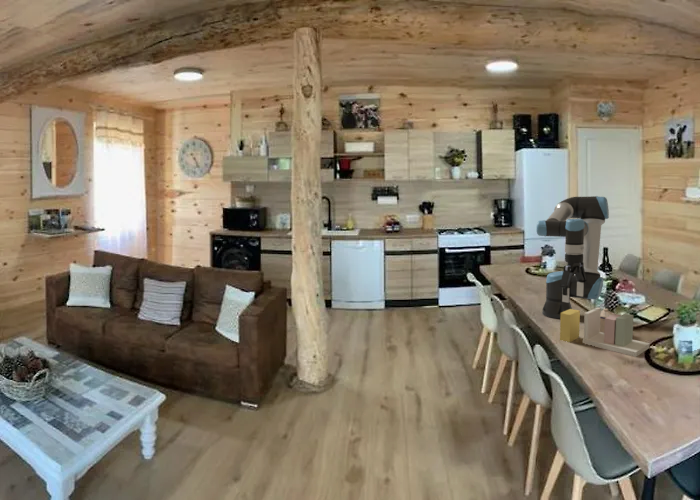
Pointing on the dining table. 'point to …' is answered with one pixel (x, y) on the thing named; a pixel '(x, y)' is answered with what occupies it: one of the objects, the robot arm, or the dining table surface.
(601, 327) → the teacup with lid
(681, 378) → the dining table surface
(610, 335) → the block stand tray
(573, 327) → the book
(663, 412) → the dining table surface
